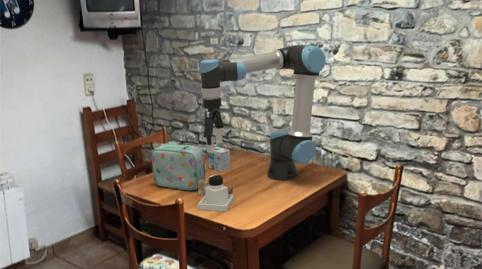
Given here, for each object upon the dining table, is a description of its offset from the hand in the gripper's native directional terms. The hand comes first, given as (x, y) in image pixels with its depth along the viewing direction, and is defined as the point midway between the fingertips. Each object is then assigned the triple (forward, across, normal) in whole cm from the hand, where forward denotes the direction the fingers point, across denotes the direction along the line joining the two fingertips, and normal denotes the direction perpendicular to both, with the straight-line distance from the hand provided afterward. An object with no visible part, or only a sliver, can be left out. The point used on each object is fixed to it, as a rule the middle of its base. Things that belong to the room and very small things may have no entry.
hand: (215, 147), depth 190 cm
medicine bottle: (+24, +2, 0) cm, 24 cm away
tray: (+25, +3, 0) cm, 25 cm away
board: (+25, -9, -2) cm, 27 cm away
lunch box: (+25, -17, -24) cm, 39 cm away
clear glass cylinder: (+25, -10, -10) cm, 28 cm away
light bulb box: (+25, -46, -12) cm, 54 cm away
